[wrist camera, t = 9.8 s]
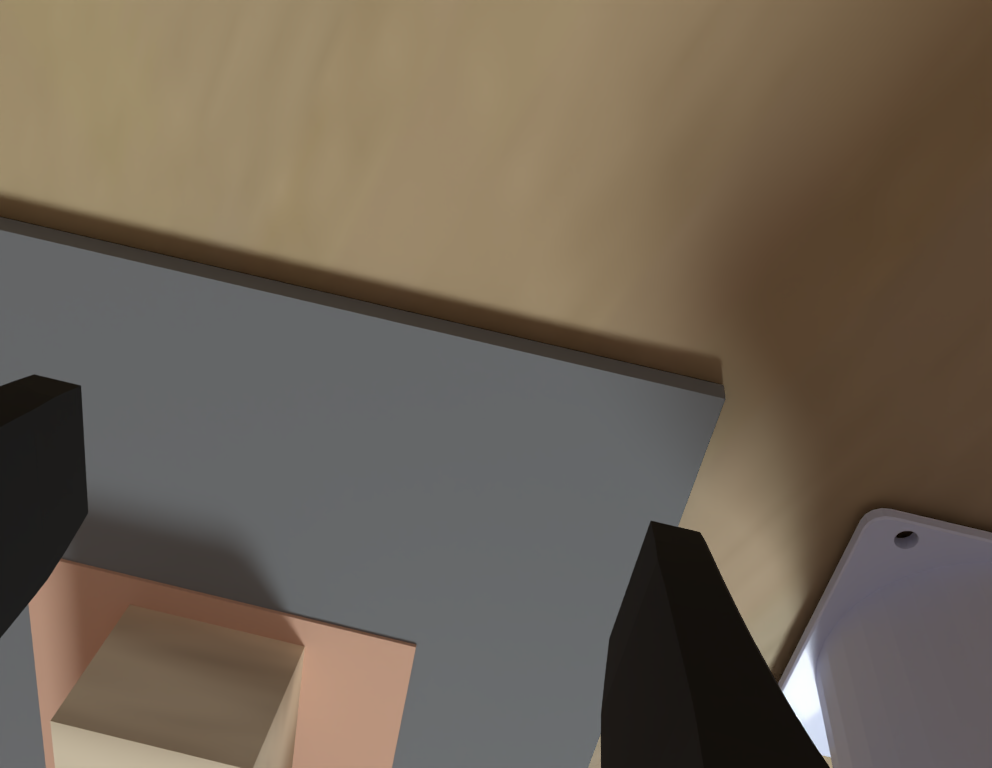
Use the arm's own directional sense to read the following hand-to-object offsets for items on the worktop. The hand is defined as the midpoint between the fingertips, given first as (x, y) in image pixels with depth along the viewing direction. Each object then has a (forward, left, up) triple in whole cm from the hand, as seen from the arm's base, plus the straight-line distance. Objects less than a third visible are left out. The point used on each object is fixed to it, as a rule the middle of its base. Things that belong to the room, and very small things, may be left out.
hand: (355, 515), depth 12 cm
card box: (+5, +17, -9) cm, 20 cm away
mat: (+4, +13, -9) cm, 17 cm away
